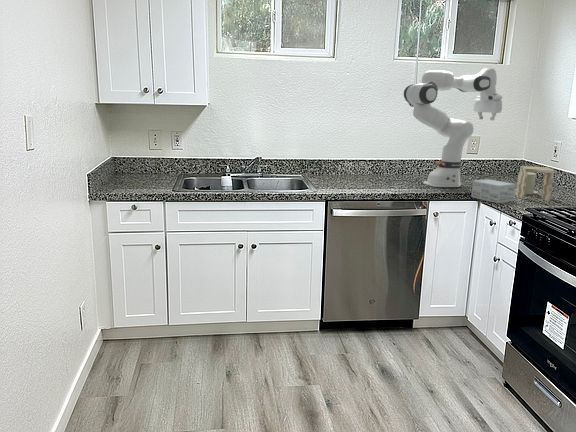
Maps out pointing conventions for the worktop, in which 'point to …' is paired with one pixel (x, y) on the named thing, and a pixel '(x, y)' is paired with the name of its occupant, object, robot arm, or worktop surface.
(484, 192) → the supplement box
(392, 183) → the worktop surface
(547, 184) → the tunnel
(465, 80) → the robot arm
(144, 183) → the worktop surface
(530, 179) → the can
